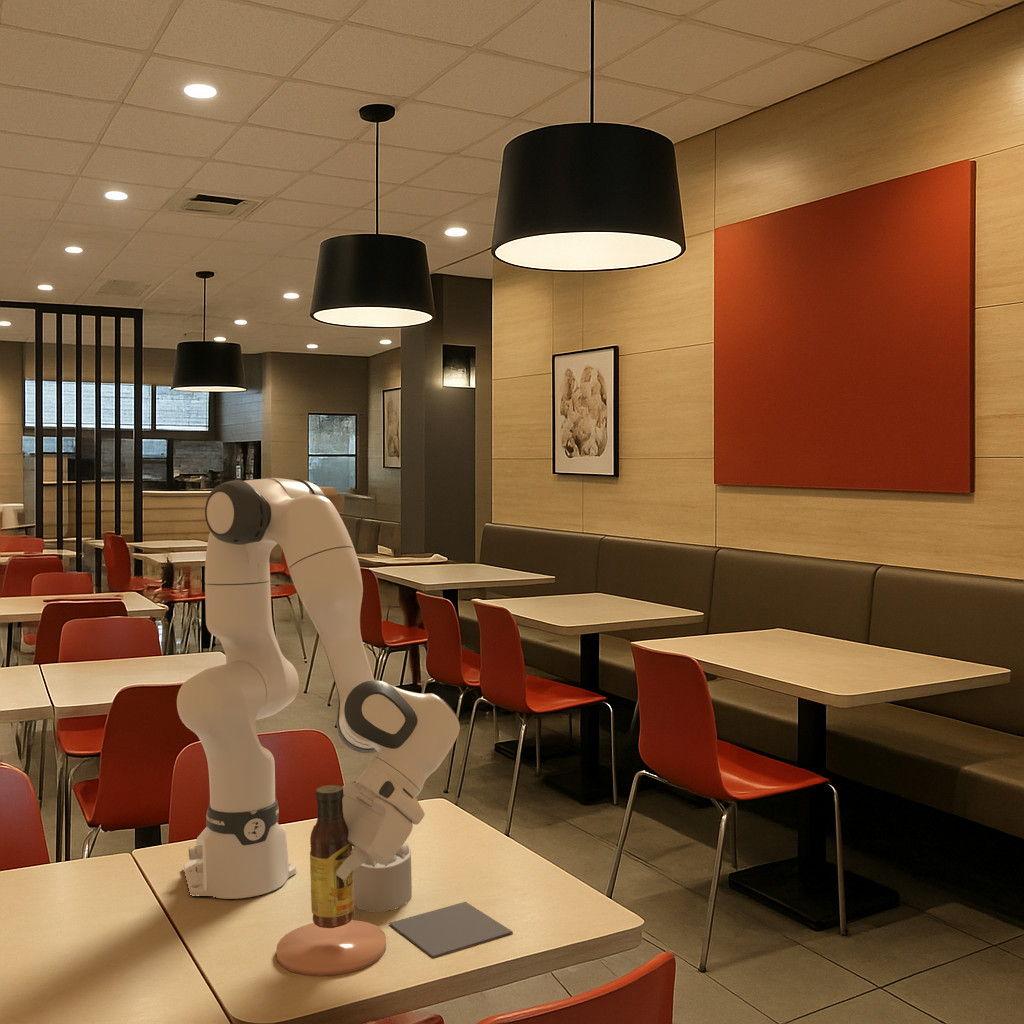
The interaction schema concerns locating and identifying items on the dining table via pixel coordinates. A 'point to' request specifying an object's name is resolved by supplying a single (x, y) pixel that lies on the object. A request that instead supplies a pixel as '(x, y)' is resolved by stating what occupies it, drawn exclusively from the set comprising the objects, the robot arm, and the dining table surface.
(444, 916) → the rubber mat
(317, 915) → the sauce bottle
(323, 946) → the terracotta plate
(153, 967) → the dining table surface
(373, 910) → the lumpy-topped squat cylinder
